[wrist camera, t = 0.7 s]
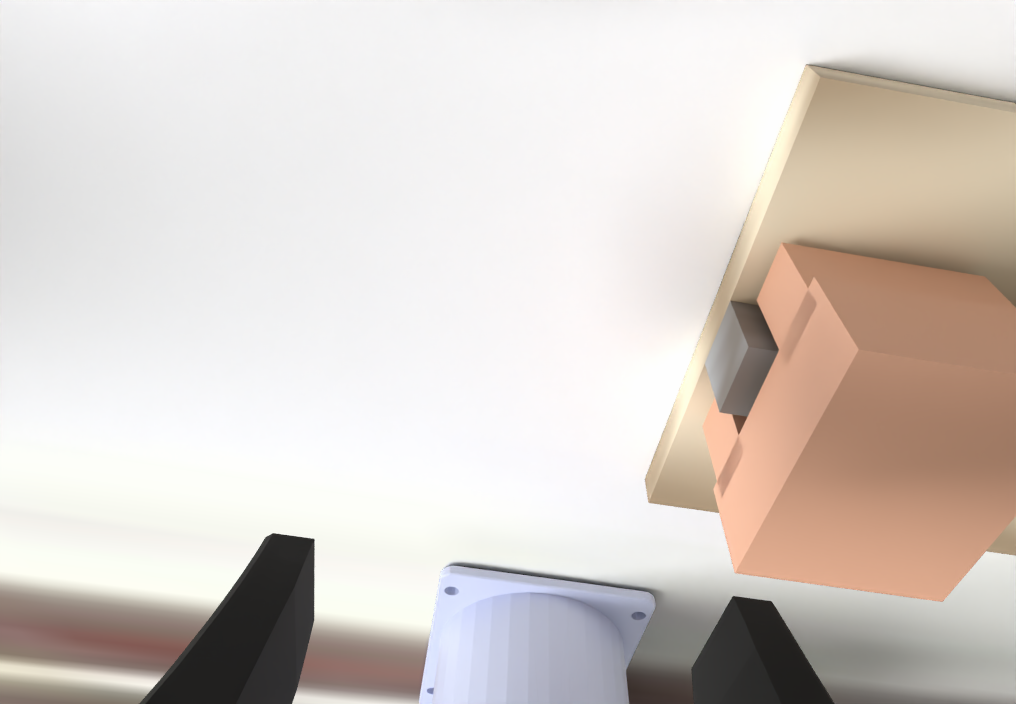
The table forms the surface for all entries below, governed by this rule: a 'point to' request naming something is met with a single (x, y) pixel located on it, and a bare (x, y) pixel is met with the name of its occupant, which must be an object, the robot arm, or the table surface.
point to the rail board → (848, 233)
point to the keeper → (872, 428)
